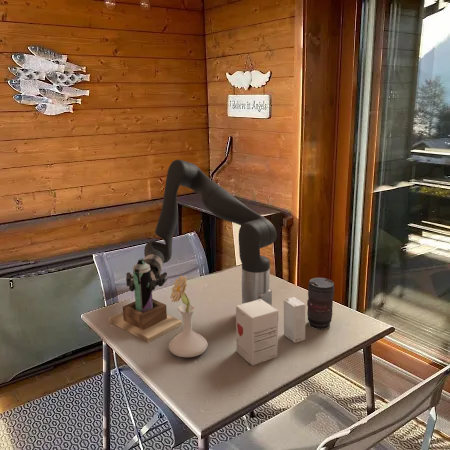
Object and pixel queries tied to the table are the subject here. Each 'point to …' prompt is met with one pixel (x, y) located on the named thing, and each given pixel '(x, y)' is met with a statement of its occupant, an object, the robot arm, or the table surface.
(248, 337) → the supplement box
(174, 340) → the flower in vase
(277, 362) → the table surface
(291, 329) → the skincare box
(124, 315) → the can holder
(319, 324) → the camera lens
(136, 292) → the spray can
